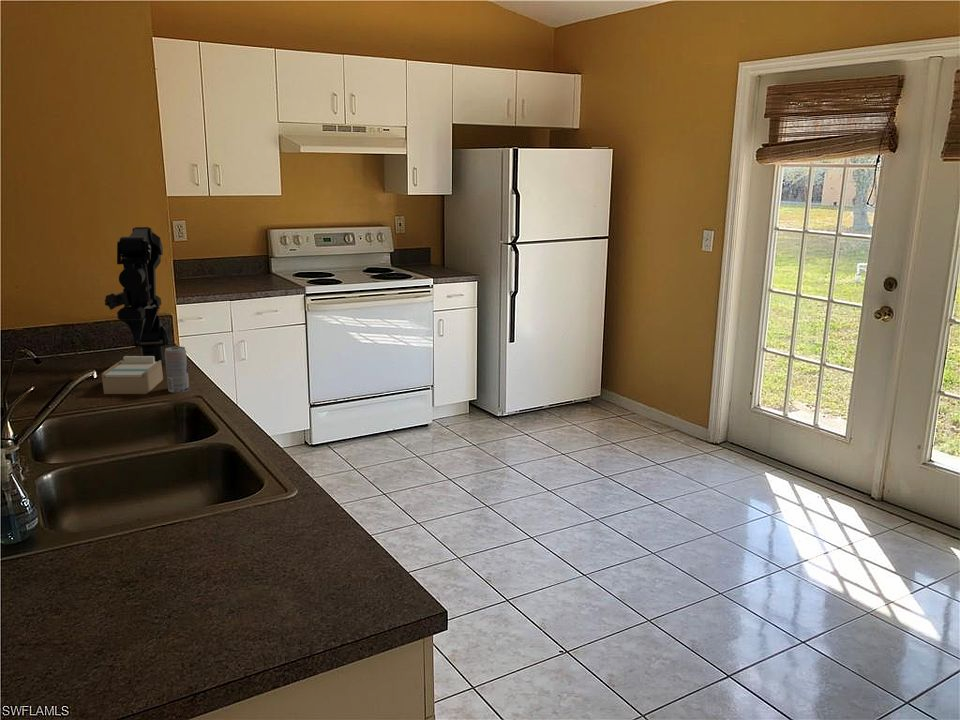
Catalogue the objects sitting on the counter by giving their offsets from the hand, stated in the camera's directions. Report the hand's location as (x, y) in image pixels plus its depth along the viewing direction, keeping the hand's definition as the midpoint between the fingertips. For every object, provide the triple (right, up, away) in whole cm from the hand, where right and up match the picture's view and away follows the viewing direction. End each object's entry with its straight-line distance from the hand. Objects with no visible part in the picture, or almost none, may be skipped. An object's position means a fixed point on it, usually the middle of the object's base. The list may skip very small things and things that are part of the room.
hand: (143, 337), depth 218 cm
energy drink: (+14, -15, -9) cm, 22 cm away
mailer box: (+1, -14, -7) cm, 16 cm away
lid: (+1, -9, -8) cm, 13 cm away
